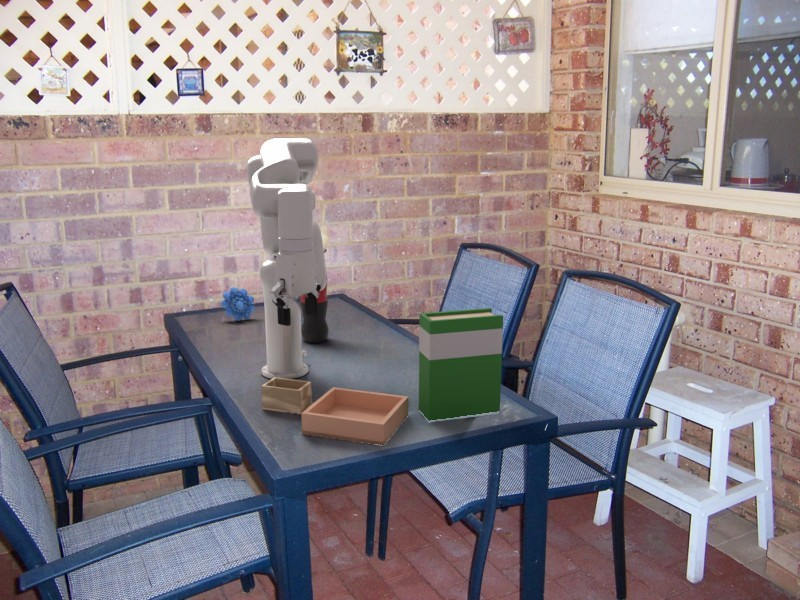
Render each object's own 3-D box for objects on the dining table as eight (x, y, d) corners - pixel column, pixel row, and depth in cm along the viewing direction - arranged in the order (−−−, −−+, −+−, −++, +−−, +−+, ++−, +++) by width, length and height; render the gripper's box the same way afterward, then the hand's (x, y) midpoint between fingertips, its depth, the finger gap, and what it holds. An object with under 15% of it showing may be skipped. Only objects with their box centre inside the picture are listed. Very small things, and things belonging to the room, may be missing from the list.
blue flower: (224, 325, 247) (222, 290, 244) (220, 320, 253) (218, 286, 250) (258, 322, 251) (257, 287, 248) (254, 317, 257) (252, 283, 254)
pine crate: (275, 400, 182) (274, 377, 180) (312, 405, 179) (311, 381, 177) (262, 409, 176) (261, 386, 174) (300, 414, 173) (299, 390, 171)
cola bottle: (329, 336, 235) (327, 243, 227) (327, 344, 226) (325, 248, 219) (302, 336, 234) (300, 243, 227) (300, 344, 226) (297, 248, 219)
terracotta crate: (333, 406, 177) (332, 387, 176) (408, 416, 171) (408, 396, 170) (302, 434, 161) (301, 413, 160) (383, 446, 156) (383, 424, 154)
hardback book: (487, 402, 180) (490, 307, 174) (499, 414, 173) (503, 315, 167) (418, 410, 175) (419, 313, 169) (428, 422, 168) (430, 321, 162)
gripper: (306, 237, 171) (308, 308, 175) (256, 249, 156) (259, 326, 161) (333, 240, 167) (334, 313, 171) (283, 253, 153) (286, 331, 157)
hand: (298, 319), depth 166 cm, fingers open, 9 cm apart
